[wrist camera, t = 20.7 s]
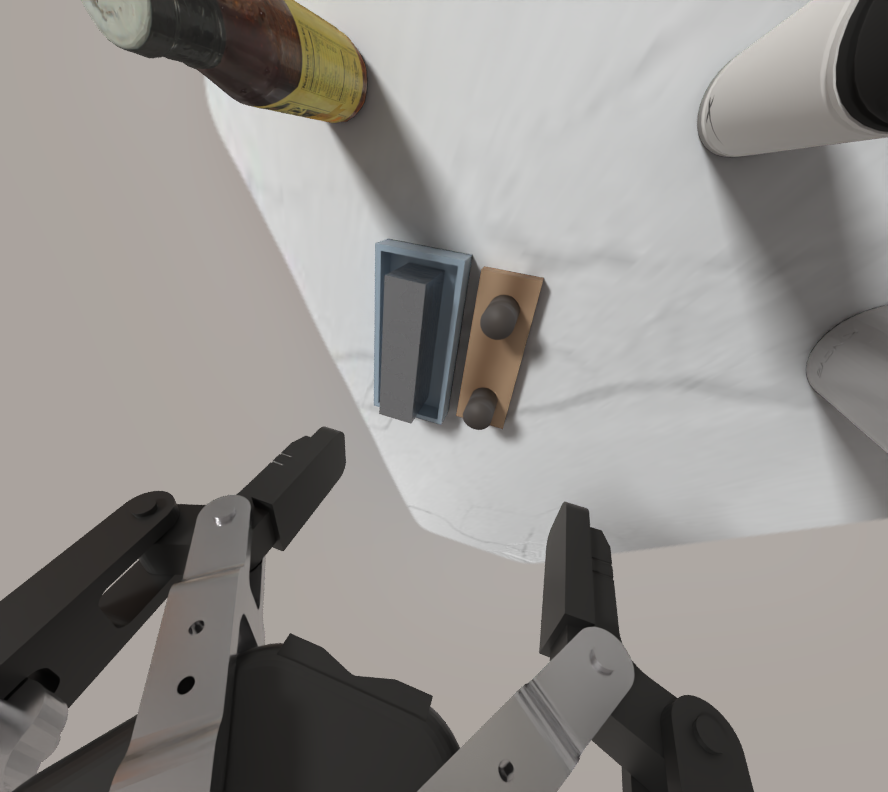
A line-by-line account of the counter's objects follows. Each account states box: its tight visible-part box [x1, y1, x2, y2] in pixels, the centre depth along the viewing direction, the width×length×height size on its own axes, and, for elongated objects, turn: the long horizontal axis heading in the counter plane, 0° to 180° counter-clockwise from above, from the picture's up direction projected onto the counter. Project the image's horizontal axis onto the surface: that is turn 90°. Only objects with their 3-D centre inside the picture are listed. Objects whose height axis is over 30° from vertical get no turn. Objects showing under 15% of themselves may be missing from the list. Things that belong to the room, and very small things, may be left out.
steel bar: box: [379, 262, 445, 423], centre depth 39 cm, size 4×16×6 cm, turn 172°
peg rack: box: [456, 266, 544, 430], centre depth 38 cm, size 6×18×6 cm, turn 173°
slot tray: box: [374, 239, 472, 425], centre depth 40 cm, size 9×20×3 cm, turn 173°
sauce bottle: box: [81, 0, 367, 123], centre depth 23 cm, size 7×6×20 cm
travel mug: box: [697, 0, 888, 157], centre depth 17 cm, size 6×7×20 cm
